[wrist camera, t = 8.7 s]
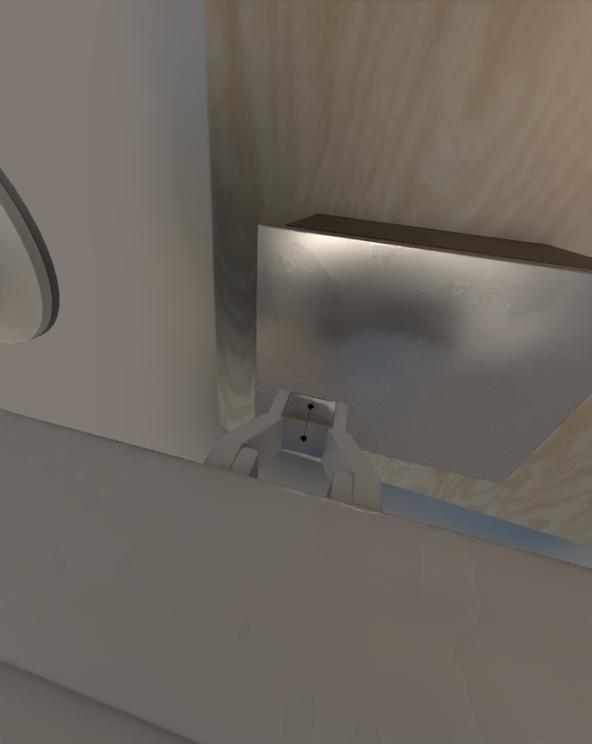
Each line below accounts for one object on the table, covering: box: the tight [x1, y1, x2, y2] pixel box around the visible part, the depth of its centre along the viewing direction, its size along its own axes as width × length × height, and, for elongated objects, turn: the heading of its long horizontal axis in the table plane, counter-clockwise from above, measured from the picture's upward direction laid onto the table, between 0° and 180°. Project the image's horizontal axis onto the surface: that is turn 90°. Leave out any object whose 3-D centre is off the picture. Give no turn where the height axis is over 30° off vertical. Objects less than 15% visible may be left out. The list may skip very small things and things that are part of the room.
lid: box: [255, 223, 592, 484], centre depth 14 cm, size 16×13×1 cm
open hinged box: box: [285, 214, 592, 270], centre depth 18 cm, size 16×13×9 cm
